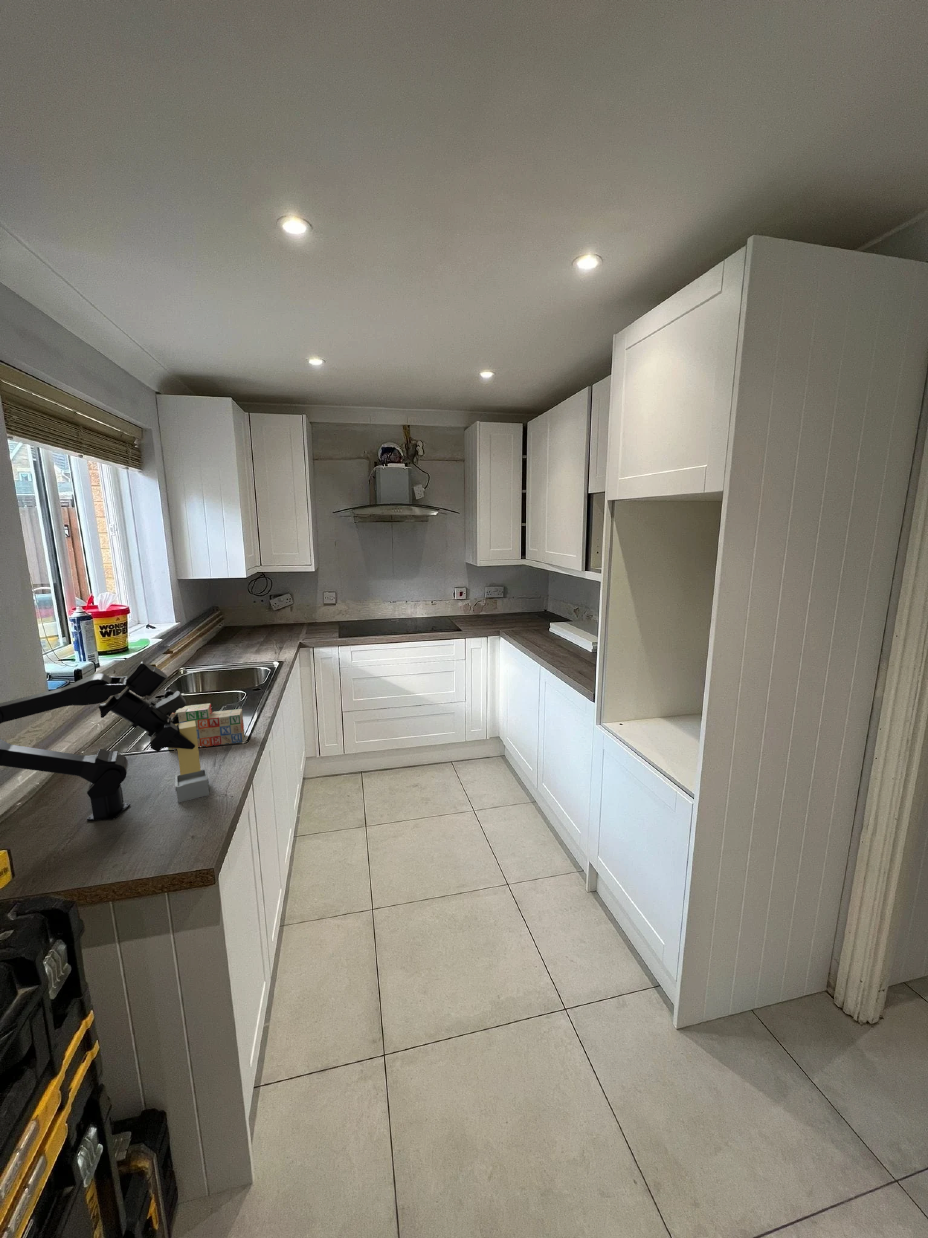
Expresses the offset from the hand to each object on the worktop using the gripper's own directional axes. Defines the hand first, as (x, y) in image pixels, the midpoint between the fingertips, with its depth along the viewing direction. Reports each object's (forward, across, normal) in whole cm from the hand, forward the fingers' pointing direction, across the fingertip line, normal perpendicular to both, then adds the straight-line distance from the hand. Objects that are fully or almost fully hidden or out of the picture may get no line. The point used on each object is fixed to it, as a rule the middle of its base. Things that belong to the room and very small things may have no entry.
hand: (193, 744), depth 127 cm
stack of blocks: (+12, +33, +6) cm, 36 cm away
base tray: (+8, 0, +10) cm, 13 cm away
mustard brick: (+4, 0, +6) cm, 7 cm away
